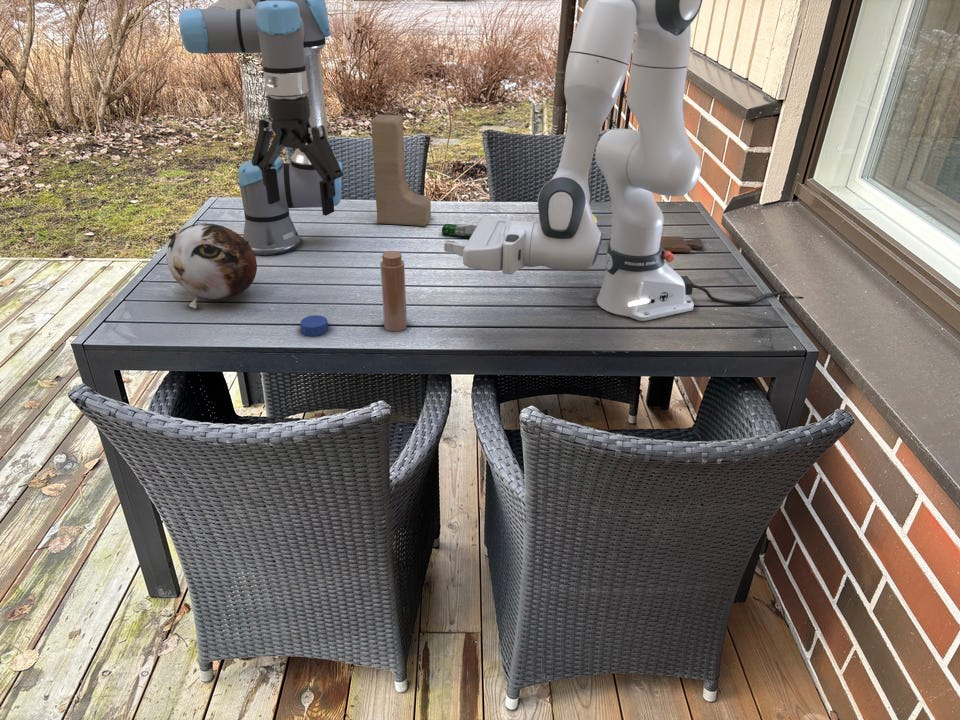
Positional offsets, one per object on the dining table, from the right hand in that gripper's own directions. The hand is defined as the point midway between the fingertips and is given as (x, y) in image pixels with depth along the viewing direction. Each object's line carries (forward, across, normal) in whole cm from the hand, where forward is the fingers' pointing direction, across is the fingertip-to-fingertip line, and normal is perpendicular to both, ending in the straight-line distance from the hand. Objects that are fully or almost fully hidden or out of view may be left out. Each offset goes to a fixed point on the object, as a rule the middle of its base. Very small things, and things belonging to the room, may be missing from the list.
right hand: (450, 237), depth 144 cm
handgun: (+7, -61, +22) cm, 65 cm away
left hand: (+29, +5, -6) cm, 30 cm away
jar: (+13, 0, +22) cm, 25 cm away
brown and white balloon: (+58, -5, +22) cm, 62 cm away
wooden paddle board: (-44, -62, +22) cm, 79 cm away
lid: (+29, +6, +20) cm, 36 cm away
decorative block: (+30, -64, +22) cm, 74 cm away
